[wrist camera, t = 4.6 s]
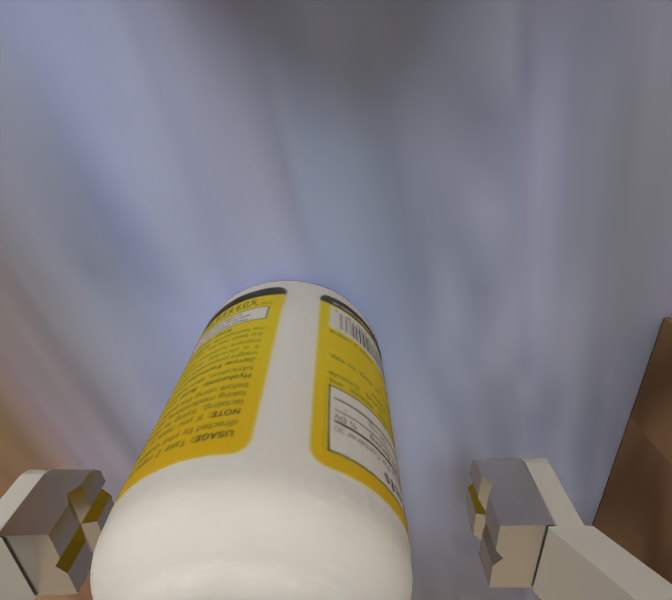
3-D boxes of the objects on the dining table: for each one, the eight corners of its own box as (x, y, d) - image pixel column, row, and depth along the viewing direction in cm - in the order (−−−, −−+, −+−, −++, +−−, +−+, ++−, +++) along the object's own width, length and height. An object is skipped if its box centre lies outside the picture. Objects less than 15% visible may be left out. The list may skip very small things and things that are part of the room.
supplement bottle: (196, 405, 14) (-26, 907, 6) (216, 255, 12) (-112, 722, 3) (354, 435, 15) (376, 936, 6) (403, 298, 13) (548, 795, 4)
